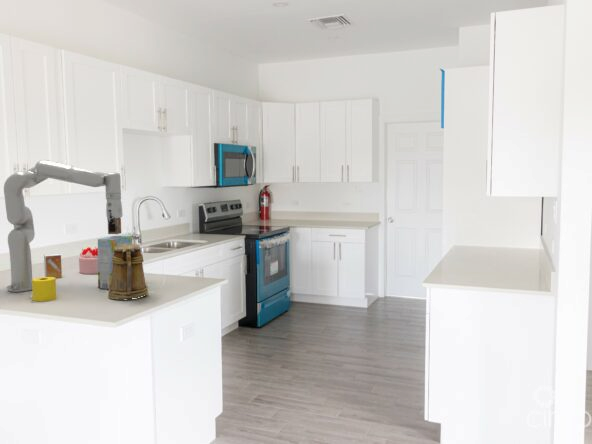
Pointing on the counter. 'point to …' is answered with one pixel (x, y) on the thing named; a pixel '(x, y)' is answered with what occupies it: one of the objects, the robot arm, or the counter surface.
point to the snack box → (108, 257)
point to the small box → (53, 265)
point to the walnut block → (116, 226)
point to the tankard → (127, 273)
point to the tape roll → (44, 288)
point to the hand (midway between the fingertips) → (114, 230)
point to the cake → (88, 261)
